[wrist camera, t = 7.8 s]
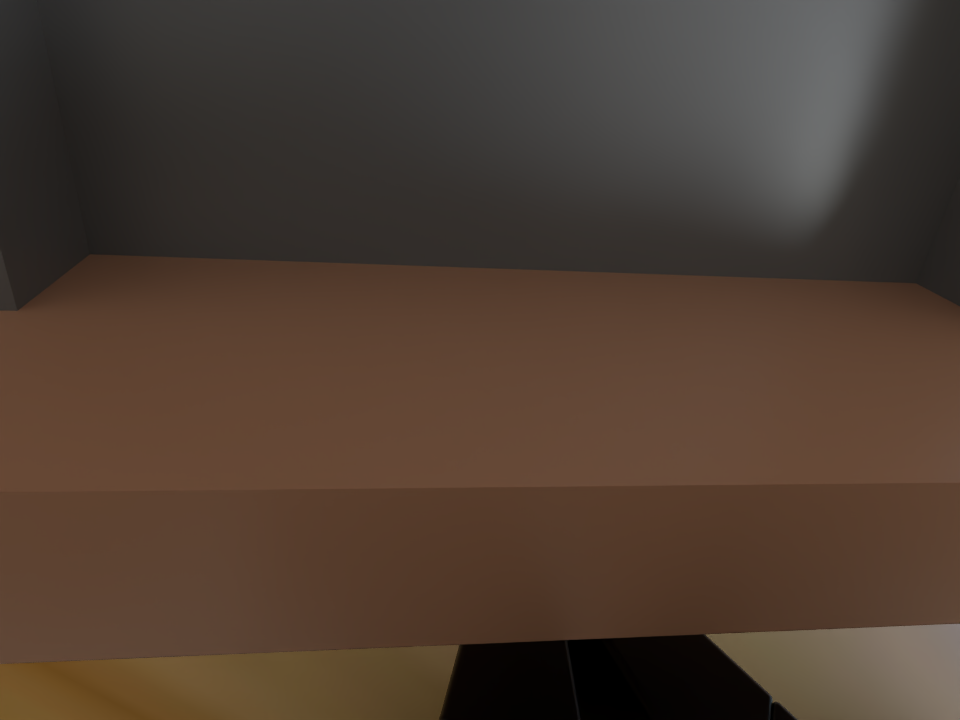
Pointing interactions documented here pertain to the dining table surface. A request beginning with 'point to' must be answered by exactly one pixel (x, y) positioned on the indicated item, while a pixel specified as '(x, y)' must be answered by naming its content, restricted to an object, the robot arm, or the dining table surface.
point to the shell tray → (474, 321)
